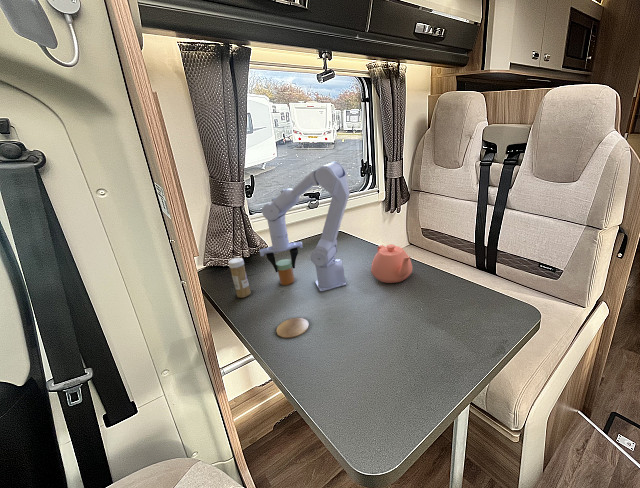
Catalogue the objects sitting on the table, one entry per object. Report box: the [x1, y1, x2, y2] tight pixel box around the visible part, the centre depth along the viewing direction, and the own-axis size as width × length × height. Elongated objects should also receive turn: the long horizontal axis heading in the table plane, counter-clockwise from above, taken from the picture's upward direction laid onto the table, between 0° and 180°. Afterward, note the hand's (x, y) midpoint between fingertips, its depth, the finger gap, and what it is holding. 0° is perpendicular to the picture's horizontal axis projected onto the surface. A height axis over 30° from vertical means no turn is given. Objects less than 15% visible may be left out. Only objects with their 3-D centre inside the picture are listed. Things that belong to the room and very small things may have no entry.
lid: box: [276, 258, 293, 270], centre depth 116 cm, size 6×6×2 cm
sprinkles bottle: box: [227, 257, 252, 299], centre depth 108 cm, size 5×5×14 cm
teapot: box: [370, 244, 413, 284], centre depth 118 cm, size 22×16×12 cm
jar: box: [277, 267, 296, 286], centre depth 117 cm, size 5×5×8 cm
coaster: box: [276, 317, 310, 339], centre depth 92 cm, size 9×9×1 cm
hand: (285, 269), depth 117 cm, fingers closed on lid, 5 cm apart
